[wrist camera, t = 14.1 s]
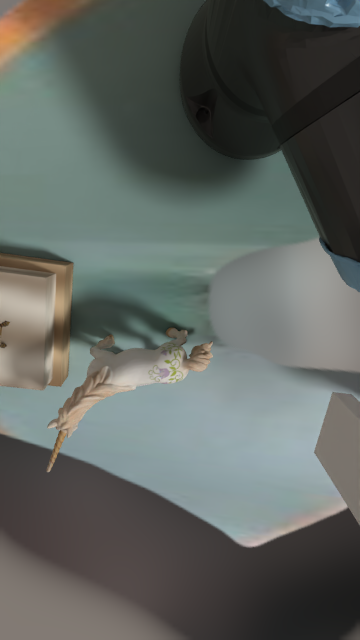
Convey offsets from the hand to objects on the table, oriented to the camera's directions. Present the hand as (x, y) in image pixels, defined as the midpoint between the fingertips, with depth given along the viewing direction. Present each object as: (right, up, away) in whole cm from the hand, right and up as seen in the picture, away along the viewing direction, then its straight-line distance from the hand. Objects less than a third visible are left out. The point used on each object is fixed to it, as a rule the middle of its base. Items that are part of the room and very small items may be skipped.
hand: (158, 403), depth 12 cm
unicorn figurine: (-4, -3, +31) cm, 31 cm away
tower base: (-20, +4, +28) cm, 35 cm away
